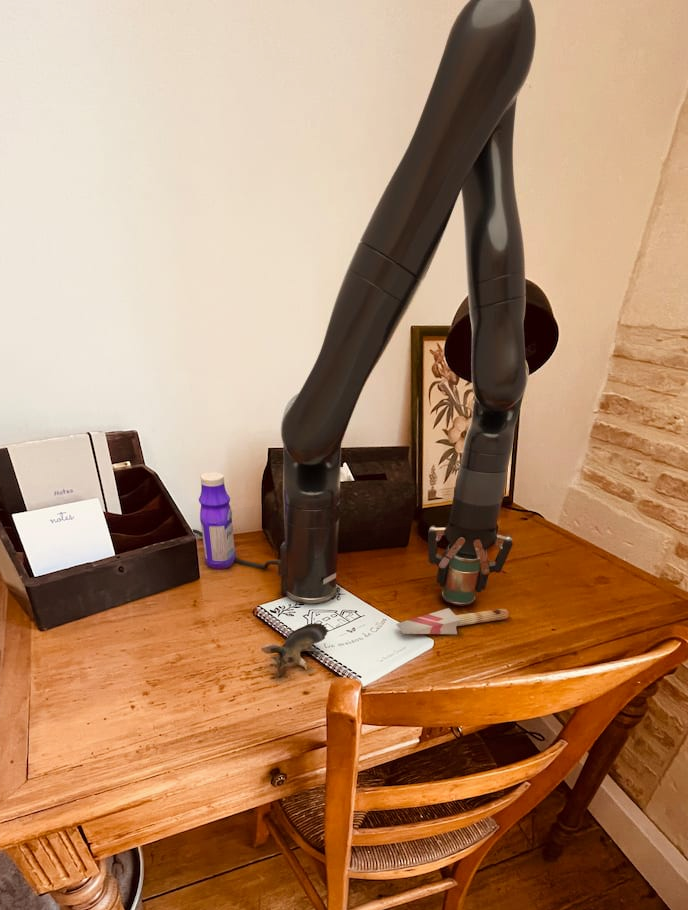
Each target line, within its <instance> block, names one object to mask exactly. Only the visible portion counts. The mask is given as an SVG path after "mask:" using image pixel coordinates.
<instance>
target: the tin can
mask: <svg viewBox="0 0 688 910" xmlns="http://www.w3.org/2000/svg"><path fill="white" fill-rule="evenodd" d="M480 560H481V558H479V557H477V555H471V554H464V553H456V554H452V560H451V559H450V561H449V563H448V564H447V570H446V576H445V582H444V587H442V592H441V598H442V600H444V601H445V602H446V603H448V604H450V605H453V606H460V607H461V606H462V607H464V606H469V605H472V604H473V603H475V600H476V593H477V592H476V589H477V585H478V581H479V576H480V572H481V566H480V565H481V564H480V563H479V562H480Z"/></svg>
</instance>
